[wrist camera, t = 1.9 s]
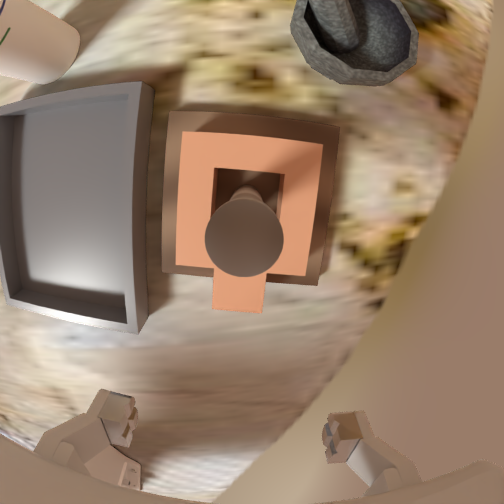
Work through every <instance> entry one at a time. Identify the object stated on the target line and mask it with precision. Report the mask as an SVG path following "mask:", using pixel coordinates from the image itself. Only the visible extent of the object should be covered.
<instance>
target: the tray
mask: <svg viewBox="0 0 504 504" xmlns="http://www.w3.org/2000/svg"><path fill="white" fill-rule="evenodd" d="M154 96H155V90H154V89H153V88H151V87H150V86H149V85H147V84H146V83H144V82H143V81H137V82H125V83H114V84H106V85H98V86H91V87H84V88H78V89H72V90H66V91H61V92H56V93H51V94H46V95H42V96H38V97H33V98H29V99H25V100H22V101H18V102H14V103H11V104H7V105H4V106H1V107H0V277H1V282H2V287H3V291H4V296H5V300H6V304H7V305H10V306H13V307H17V308H20V309H24V310H27V311H31V312H35V313H38V314H42V315H46V316H50V317H54V318H58V319H62V320H67V321H71V322H75V323H80V324H85V325H89V326H94V327H99V328H104V329H109V330H115V331H120V332H126V333H132V334H139V333H140V331H141V329H142V327H143V326H144V324H145V322H146V320H147V319H148V317H149V312H148V296H147V274H146V195H147V172H148V156H149V143H150V132H151V121H152V112H153V104H154Z"/></svg>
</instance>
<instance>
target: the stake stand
mask: <svg viewBox="0 0 504 504" xmlns="http://www.w3.org/2000/svg"><path fill="white" fill-rule="evenodd" d="M339 130H340V127H337V126H332V125H326V124H321V123H315V122H308V121H302V120H295V119H287V118H279V117H271V116H261V115H251V114H238V113H224V112H202V111H169V119H168V129H167V140H166V152H165V166H164V182H163V204H162V272H165V273H174V274H184V275H194V276H205V277H214V268H204V267H193V266H183V265H176V225H177V201H178V183H179V168H180V155H181V143H182V132H183V131H185V132H210V133H227V134H240V135H252V136H262V137H272V138H280V139H288V140H296V141H303V142H310V143H317V144H323V150H322V159H321V168H320V177H319V185H318V193H317V200H316V208H315V215H314V222H313V229H312V236H311V243H310V249H309V256H308V262H307V268H306V274H305V276H297V275H285V274H272V273H267V274H266V282H273V283H286V284H300V285H314V286H317V285H318V280H319V274H320V269H321V263H322V257H323V252H324V246H325V239H326V233H327V227H328V220H329V213H330V206H331V199H332V192H333V184H334V176H335V168H336V159H337V150H338V140H339ZM279 183H280V173H271V172H262V171H251V170H240V169H228V168H218V178H217V191H216V204H215V213H214V214H213V216H212V217H211V219H210V221H209V222H208V225H207V227H206V231H205V247H206V250H207V253H208V255H209V257H210V259H211V260H212V262H213V263H214V264H215V265H216V266H217V267H218V268H219V269H221V270H222V271H224V272H225V273H227V274H230V275H233V276H237V277H252V276H256V275H259V274H261V273H263V272H265V271H267V270H268V269H269V268H271V267H272V266H273V265H274V264H275V262H276V261H277V260H278V258H279V256H280V254H281V252H282V249H283V244H284V235H283V229H282V226H281V224H280V222H279V220H278V218H277V216H276V210H277V201H278V192H279Z"/></svg>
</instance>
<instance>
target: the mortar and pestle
mask: <svg viewBox="0 0 504 504" xmlns="http://www.w3.org/2000/svg"><path fill="white" fill-rule="evenodd" d="M290 26H291V34H292V35H293V37H294V39H295V41H296V43H297V45H298V47H299V48H300V50H301V52H302V54H303V56H304V58H305V60H306V62H307V63H308V64H309V65H310V66H311V68H313V69H314V70H316V71H318V72H319V73H321V74H322V75H324V76H325V77H327V78H329V79H333V80H335V81H336V82H338V83H339V84H350V85H365V86H381V85H385V84H387V83H389V82H391V81H393V80H394V79H395V78H397V77H398V76H400V75H401V74H402V73H404V72H405V71H406V70H408V69H409V68H411V67H412V66H413V65H415V64H416V59H417V49H418V38H419V33H418V31H417V29H416V27H415V25H414V23H413V22H412V20H411V18H410V16H409V15H408V13H407V11H406V10H405V8H404V6H403V5H402V3H401V2H400V1H399V0H297V2H296V5H295V9H294V13H293V17H292V20H291V24H290Z"/></svg>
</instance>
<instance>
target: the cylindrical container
mask: <svg viewBox="0 0 504 504" xmlns="http://www.w3.org/2000/svg"><path fill="white" fill-rule="evenodd" d="M79 47H80V35H79V32H78V31H77V30H76V29H75V28H74V27H72V26H71V25H69V24H67V23H66V22H64V21H63V20H61V19H59V18H58V17H56V16H54V15H53V14H51V13H49V12H48V11H46V10H44V9H43V8H41V7H39V6H37V5H36V4H34V3H32V2H30V1H28V0H0V75H3V76H8V77H13V78H17V79H21V80H26V81H30V82H34V83H38V84H49V83H52V82H54V81H56V80H57V79H59V78H60V77H61V76H62V75H63V74H64V73H65V72H66V71H67V70H68V69H69V68H70V66H71V65H72V63H73V62H74V60H75V58H76V56H77V53H78V50H79Z"/></svg>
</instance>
